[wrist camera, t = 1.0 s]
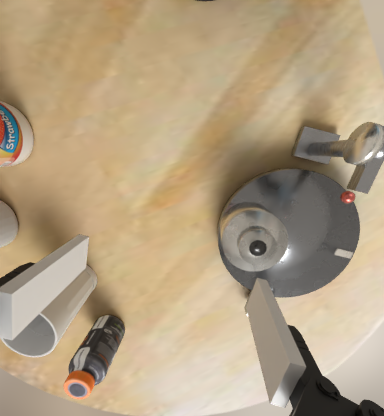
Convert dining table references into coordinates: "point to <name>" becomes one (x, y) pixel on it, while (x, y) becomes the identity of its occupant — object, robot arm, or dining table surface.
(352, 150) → the indicator
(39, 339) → the cup
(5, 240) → the mug
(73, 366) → the pill bottle
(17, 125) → the fruit juice
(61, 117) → the dining table surface
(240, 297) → the dining table surface
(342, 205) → the turntable
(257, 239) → the cover
